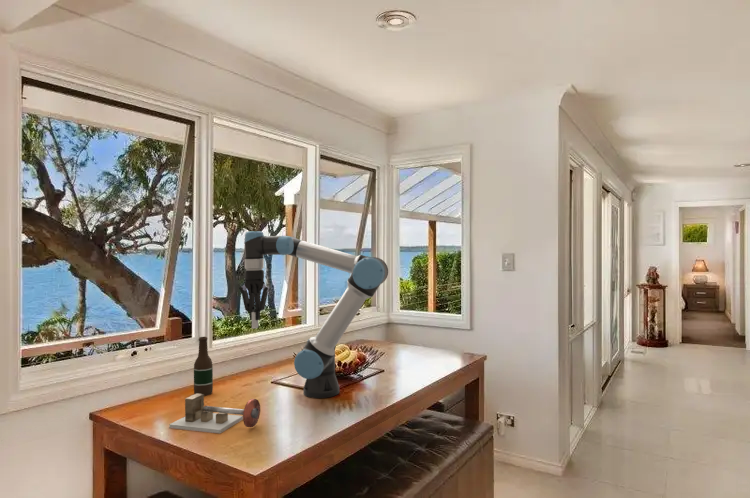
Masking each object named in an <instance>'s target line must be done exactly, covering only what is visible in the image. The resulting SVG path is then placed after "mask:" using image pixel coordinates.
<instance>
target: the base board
mask: <svg viewBox="0 0 750 498" xmlns="http://www.w3.org/2000/svg"><path fill="white" fill-rule="evenodd" d="M216 414H218V412H213V419H212V420H210V421H208V422H201V418H200V419H198V420H196V421H194V422H185V416H184V417H181V418H179V419H177V420H175V421H174V422H171V423H170V424H168V425H169V427H168V428H169V429H176V430H186V431H194V432H203V433H211V434H212V433H213V434H221V433H224V432H225V431H227V430H228V429H230V428H231V427H233V426H234V425H236V424H238V423H240V422H241V421H243V415H238V414H228V420H227V421H226V422H224V423H222V424H220V423H216Z"/></svg>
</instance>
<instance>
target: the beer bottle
mask: <svg viewBox="0 0 750 498" xmlns="http://www.w3.org/2000/svg"><path fill="white" fill-rule="evenodd" d="M197 353H198V354H197V357H196V359H195V361H194V364H193V395H194V394H196V393H199V394H204V397H206V396H210V395H212V394H213V390H214V389H213V388H214V387H213V384H214V383H213V380H214V377H213V376H214V374H213V371H214V370H213V369H214V367H213V360H212V359H211V356H209V351H208V337H207V336H200V337H199V338H198V352H197Z"/></svg>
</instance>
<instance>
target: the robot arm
mask: <svg viewBox="0 0 750 498" xmlns="http://www.w3.org/2000/svg"><path fill="white" fill-rule="evenodd" d="M243 244H244V245H243V246H244V269H245V270H244V280H245V281H244V283H243V285H242V286H239V287H238V289H239V291H240V293H241V296H242V302H243V305H244V310H245V311H248V312H249V320H250V321H251V329H253V330H254V329H258V328H259V321H260V319H261V312H262V311H264V310H265V309H266V303H267V299H268V294H269V292H270V290H271V287H270V286H267V285H266V283H265V280H264V279H265V271H264V268H265V267H264V266H265V265H264V264H265V263H264V262H265V260H264V259H265V256H267V255H273V256H279V255H281V256H285V255H288V256H291V257H294V258H298V259H302V260H306V261H308V262H312V263H315V264H319V265H322V266H324V267H325V266H326V267H327V268H332V269H336V270H338V271H342V272H345V273H348V274H350V275H349V278H348V279H347V281H346V282H347V288H346V289H345V291H344V292H343V294H342V295H341V297H340V298H339V300H338V302H337V303H336V305H335V306H334V307H333V308H332V311H331V312H330V313H329V315H328V317H327V318H326V319H325V321H324V322H323V325H322V326H321V328H320V329H319V330H318V332H317V334H316V335H315V336H310V337H309V338H308V339H307V341H306V343H305V345H304V347H303V348H302V349H301V350H300V351H298V353H297V354H296V356H295V358H294V361H293V366H294V369H295V371H296V373H297V375H298V376H300V377H301V378H303V379H305V382H304V385H303V393H302V394H303V396H305V397H308V398H313V399H325V398H332V397H336V396H337V395H339V393H340V385H339V382H338V378H337V376H336V346H337V344H338V343H339V341H340V340H341V338H342V337H343V335H344V333H345V332H346V330H347V329H348V327H349V325H350V324H351V323H352V321H353V320H354V318H355V317H356V315H357V313H358V312H359V311H360V309H362V306H363V305H364V303H365V301H366V300H367V299H370V298H373V297H374V295H375V293H376V292H377V290H378V289H379V288H380V287H381V285H382V284H383V283H385V281H386V280H387V279H388V275H389V268H388V267H389V266H388V265H387V263H386V262H385V261H384V260H383V259H381V258H380V257H376V256H368V255H363V254H359V255H355V254H350V253H347V252H343V251H340V250H337V249H333V248H330V247H327V246H323V245H319V244H316V243H313V242H309V241H305V240H301V239H298V238H296V237H294V236H290V235H270V236H268V235H267V236H265V234H264V232H263V231H259V230H257V231H253V230H252V231H246V232H245V233H244V242H243Z"/></svg>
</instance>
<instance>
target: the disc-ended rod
mask: <svg viewBox="0 0 750 498" xmlns="http://www.w3.org/2000/svg"><path fill="white" fill-rule="evenodd" d="M203 410H204V411H208V412H213V413H228V415H238V416H243V420H242V422H243V424H244V426H245V427H246V428H254V427H255V426H257V425H256V424H258V421H259V420H260V415H261V403H260V401H259V400H258V399H257V398H250V399H249V400H247V402H246V404H245V406H244V408H243V409H241V408H231V407H222V406H221V407H220V406H210V405H204V408H203Z"/></svg>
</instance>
